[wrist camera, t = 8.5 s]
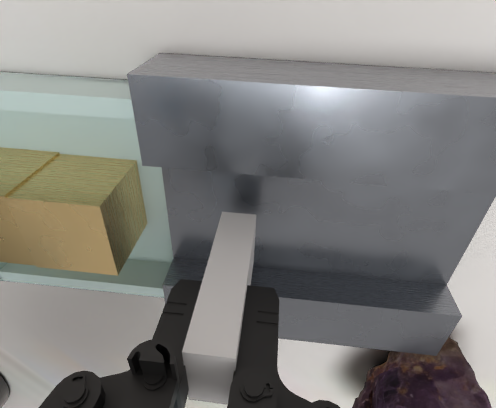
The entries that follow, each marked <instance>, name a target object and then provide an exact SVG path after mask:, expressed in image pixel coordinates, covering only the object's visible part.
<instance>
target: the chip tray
mask: <svg viewBox="0 0 496 408" xmlns="http://www.w3.org/2000/svg"><path fill="white" fill-rule="evenodd" d="M0 147H3V148H15V149H27V150H39V151H51V152H59V153H60V154H68V155H80V156H92V157H104V158H116V159H128V160H137V165H138V171H139V177H140V182H141V188H142V194H143V200H144V206H145V211H146V217H147V225H146V227H145V229H144V230H143V232H142V234H141V236H140V237H139V239H138V241H137V243H136V245H135V246H134V248H133V250H132V252H131V253H130V255H129V257H128V259H127V261H126V262H125V264H124V266H123V268H122V270H121V271H120V273H119V275H118V276H116V275H107V274H97V273H88V272H79V271H69V270H60V269H50V268H41V267H36V266H34V265H24V264H15V263H5V262H0V280H1V281H10V282H20V283H29V284H39V285H48V286H58V287H67V288H76V289H86V290H95V291H105V292H114V293H124V294H133V295H142V296H152V297H161V298H164V292H163V286H162V285H163V282H164V280H165V277H166V275H167V272H168V270H169V267H170V265H171V263H172V260H173V252H172V244H171V236H170V229H169V221H168V213H167V206H166V198H165V190H164V183H163V175H162V167H151V166H142V160H141V154H140V148H139V142H138V136H137V130H136V124H135V118H134V113H133V107H132V101H131V95H130V89H129V83H128V80H121V79H105V78H90V77H74V76H59V75H43V74H28V73H13V72H0Z"/></svg>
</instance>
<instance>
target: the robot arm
mask: <svg viewBox="0 0 496 408" xmlns="http://www.w3.org/2000/svg"><path fill="white" fill-rule="evenodd" d="M255 230H256V215H255V214H243V213H232V212H222V214H221V217H220V221H219V224H218V228H217V231H216V235H215V238H214V242H213V245H212V249H211V252H210V256H209V259H208V263H207V266H206V270H205V273H204V277H203V280H202V281H195V280H186V279H180V280H179V281H178V282H177V283H176V284H175V286H174V287H173V288H172V289H171V291H170V294H169V296H168V299H167V303H166V304H165V307H164V310H163V314H162V315H161V317H160V320H159V323H158V325H157V328H156V331H155V333H154V336H153V339H152V340H148V341H146V342H143V343H141V344H139V345H138V346H137V347H136V348H134V349H133V350H132V352H131V353H130V355H129V356H128V358H127V360H128V363H129V366H130V370H129V371H126V372H123V373H120V374H115V375H111V376H106V377H101V378H99V377H98V376H97V375H95V374H94V373H93V372H88V371H81V372H76V373H73V374H71V375H69V376H68V377H66V378H64V379H63V380H62V381H61V382H60V383H59V384H58V385H57V386H56V387H55V388H54V390H53V391H52V392H51V393H50V394H49V396H48V397H47V398H46V399H45V401H44V402H43V403H42V404H41V405H40V407H39V408H185V403H186V399H187V395H188V397H189V399H190V400H198V401H205V402H213V403H221V404H228V406H227V408H340V407H339V406H338V405H336V404H334V403H332V402H330V401H324V400H318V401H315V402H313V403H311V402H309V401H307V400H305V399H303V398H301V397H299V396H297V395H295V394H294V393H292V392H291V391H289V390H288V389H287V388H286V387H285V386H284V384H283V383H282V381H281V380H280V377H279V374H278V370H277V354H278V325H279V298H278V295H277V293H276V291H275V289H274V288H270V287H260V286H250V285H251V278H252V270H253V262H254V248H255ZM8 397H9V389H8V386H7V384H6V382H5V381H4V380H3V378H2V377H1V376H0V408H2V406H3V405H4V403H5V402H6V400H7V399H8Z"/></svg>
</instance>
